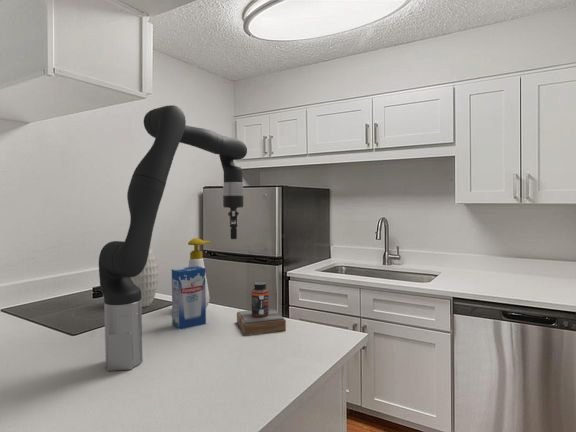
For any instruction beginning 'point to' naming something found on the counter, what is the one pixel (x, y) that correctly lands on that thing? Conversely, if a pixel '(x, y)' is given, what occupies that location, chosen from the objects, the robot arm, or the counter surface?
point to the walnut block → (261, 322)
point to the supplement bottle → (260, 300)
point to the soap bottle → (198, 261)
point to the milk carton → (188, 297)
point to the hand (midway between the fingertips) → (233, 237)
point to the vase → (148, 280)
